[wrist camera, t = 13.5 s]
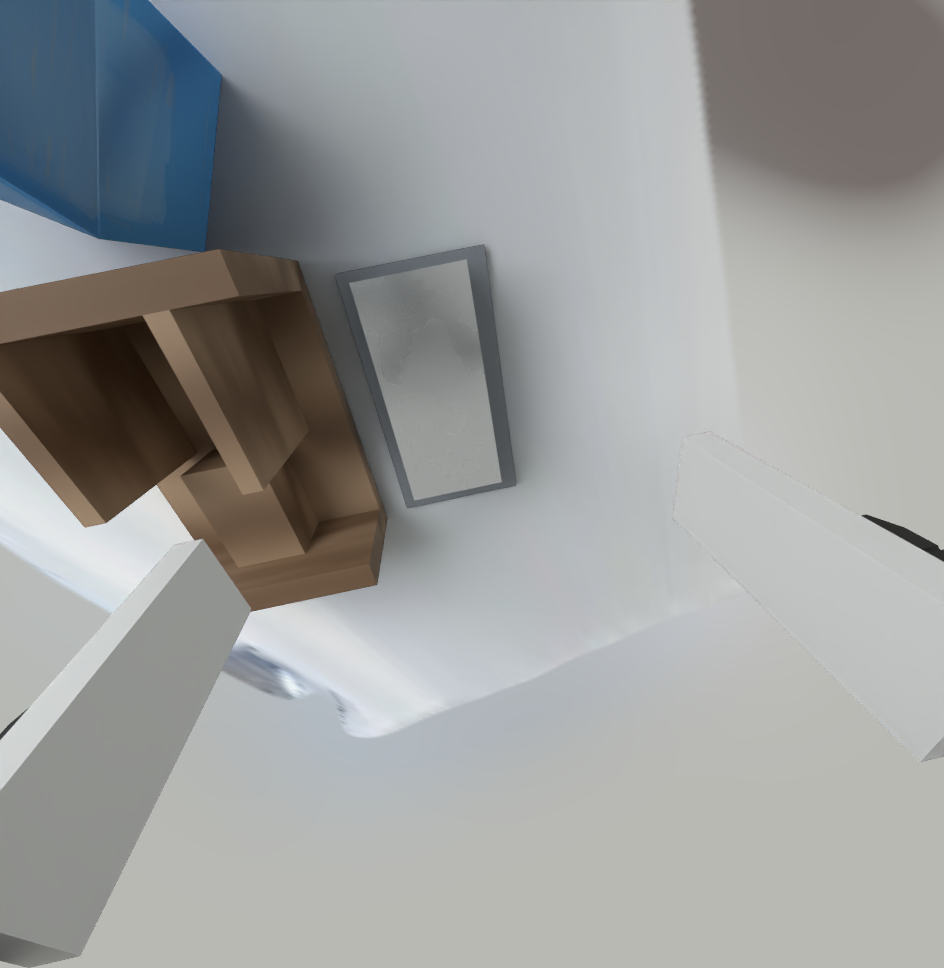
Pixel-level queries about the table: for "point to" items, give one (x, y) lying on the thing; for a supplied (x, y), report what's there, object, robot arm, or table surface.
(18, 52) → the perfume bottle
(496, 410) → the slate pad
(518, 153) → the table surface
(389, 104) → the table surface
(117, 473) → the pocket jig
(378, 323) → the bar
